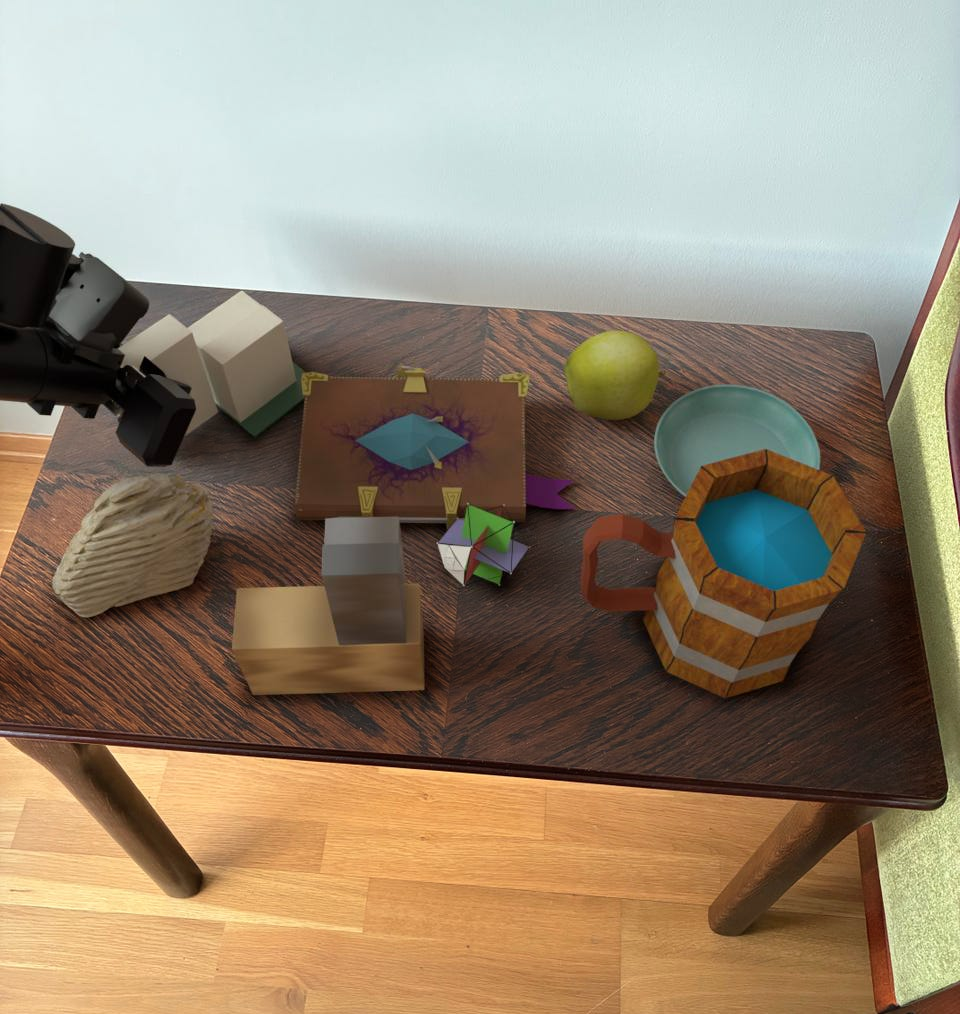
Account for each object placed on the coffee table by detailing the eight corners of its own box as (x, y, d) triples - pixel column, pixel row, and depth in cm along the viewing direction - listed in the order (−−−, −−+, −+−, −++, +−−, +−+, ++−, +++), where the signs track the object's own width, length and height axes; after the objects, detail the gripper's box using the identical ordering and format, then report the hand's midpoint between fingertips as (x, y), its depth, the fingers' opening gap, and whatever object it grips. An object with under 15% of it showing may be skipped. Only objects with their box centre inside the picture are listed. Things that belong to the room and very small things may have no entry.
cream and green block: (254, 438, 94) (237, 378, 87) (185, 379, 97) (162, 317, 90) (322, 386, 96) (310, 325, 89) (252, 331, 100) (236, 268, 92)
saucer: (828, 529, 90) (837, 512, 87) (662, 537, 89) (667, 521, 87) (793, 398, 96) (801, 379, 94) (639, 405, 96) (643, 386, 94)
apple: (668, 428, 95) (684, 369, 88) (573, 446, 94) (582, 387, 87) (642, 366, 98) (656, 304, 91) (551, 382, 97) (558, 320, 90)
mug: (799, 561, 88) (858, 455, 75) (809, 704, 82) (876, 616, 69) (572, 544, 89) (591, 436, 75) (565, 685, 83) (585, 594, 69)
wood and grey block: (252, 695, 82) (199, 580, 66) (257, 637, 84) (206, 512, 68) (424, 690, 82) (414, 574, 66) (423, 633, 85) (413, 507, 68)
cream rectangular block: (157, 456, 91) (123, 378, 82) (136, 437, 92) (101, 358, 83) (218, 412, 93) (192, 332, 84) (197, 394, 94) (169, 313, 85)
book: (575, 537, 90) (580, 508, 85) (295, 534, 90) (285, 504, 85) (569, 387, 97) (574, 352, 92) (309, 384, 97) (301, 349, 92)
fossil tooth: (62, 581, 88) (223, 510, 90) (80, 638, 85) (247, 564, 87) (-7, 505, 78) (177, 427, 80) (11, 567, 75) (201, 485, 77)
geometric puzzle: (474, 490, 89) (448, 488, 81) (546, 519, 87) (526, 519, 80) (445, 567, 90) (417, 572, 82) (516, 596, 89) (494, 604, 81)
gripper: (140, 330, 69) (287, 356, 83) (-19, 198, 75) (143, 242, 88) (84, 469, 73) (232, 472, 87) (-63, 334, 79) (98, 356, 93)
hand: (176, 381), depth 89 cm, fingers closed on cream rectangular block, 3 cm apart
